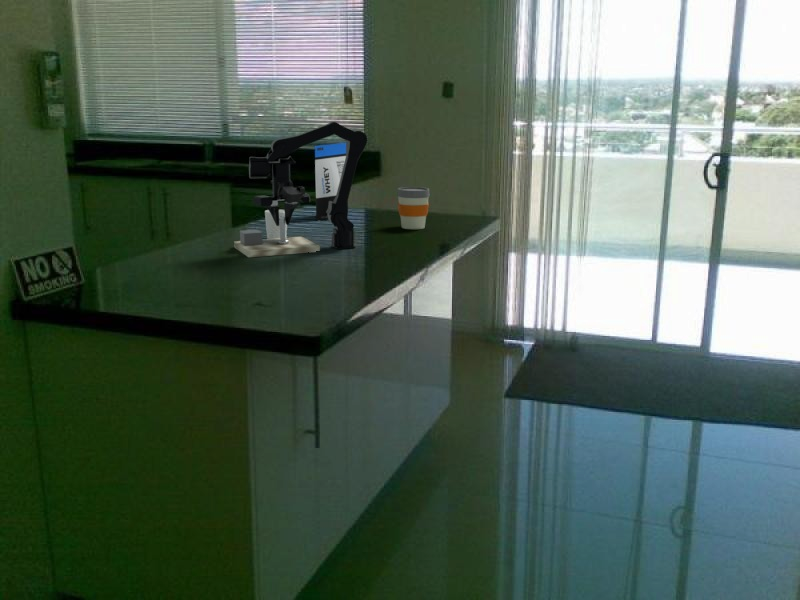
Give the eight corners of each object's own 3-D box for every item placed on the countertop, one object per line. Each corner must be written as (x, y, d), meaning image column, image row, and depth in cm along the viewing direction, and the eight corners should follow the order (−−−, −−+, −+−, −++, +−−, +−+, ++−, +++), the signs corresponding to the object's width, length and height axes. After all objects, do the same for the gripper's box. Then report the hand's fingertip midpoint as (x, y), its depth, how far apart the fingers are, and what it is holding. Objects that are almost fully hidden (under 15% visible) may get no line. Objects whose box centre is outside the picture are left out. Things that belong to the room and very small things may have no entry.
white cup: (261, 239, 282) (260, 211, 280) (273, 236, 290) (272, 208, 287) (280, 241, 280) (280, 213, 277) (292, 237, 287) (291, 210, 284)
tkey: (263, 240, 268) (262, 215, 266) (289, 240, 269) (289, 215, 267) (261, 245, 261) (260, 219, 258) (288, 245, 261) (287, 219, 259)
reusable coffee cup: (435, 226, 313) (435, 188, 309) (418, 231, 302) (419, 191, 299) (407, 223, 319) (408, 186, 315) (390, 227, 309) (391, 189, 305)
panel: (302, 242, 278) (301, 236, 278) (319, 251, 263) (319, 245, 262) (234, 247, 268) (233, 241, 268) (248, 257, 253) (248, 251, 252)
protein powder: (356, 214, 342) (356, 143, 334) (326, 222, 321) (325, 146, 313) (337, 212, 346) (336, 142, 339) (306, 220, 325) (304, 145, 318)
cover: (257, 241, 269) (257, 229, 268) (262, 244, 263) (262, 232, 262) (240, 242, 266) (239, 230, 265) (244, 245, 261) (244, 233, 260)
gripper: (269, 182, 248) (270, 231, 252) (319, 178, 259) (319, 225, 263) (251, 178, 256) (253, 226, 260) (300, 175, 268) (301, 221, 272)
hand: (282, 225), depth 263 cm, fingers closed on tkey, 3 cm apart
